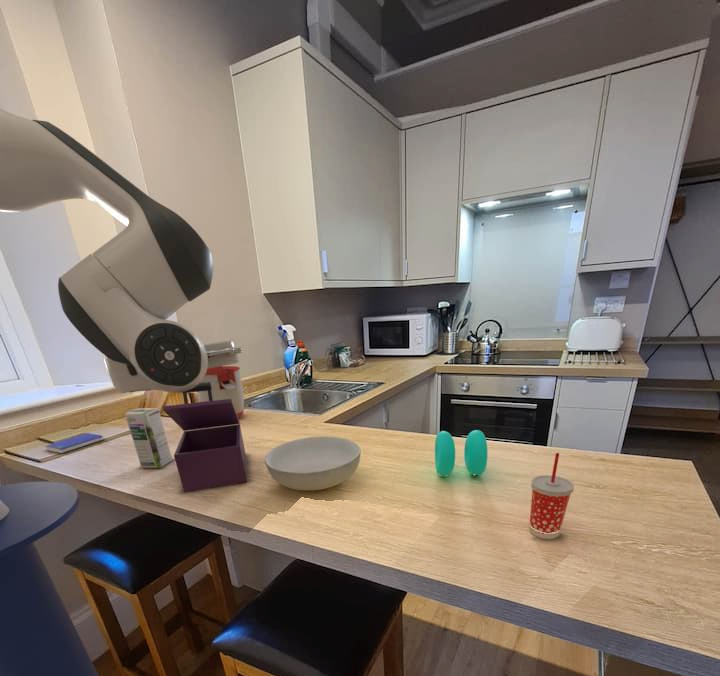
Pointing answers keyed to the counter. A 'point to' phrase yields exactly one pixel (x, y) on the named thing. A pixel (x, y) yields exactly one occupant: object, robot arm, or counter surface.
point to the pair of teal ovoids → (472, 453)
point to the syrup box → (149, 437)
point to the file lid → (202, 411)
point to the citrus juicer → (224, 386)
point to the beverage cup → (549, 503)
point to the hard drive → (74, 443)
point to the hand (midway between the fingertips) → (177, 363)
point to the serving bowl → (313, 462)
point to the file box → (211, 458)
